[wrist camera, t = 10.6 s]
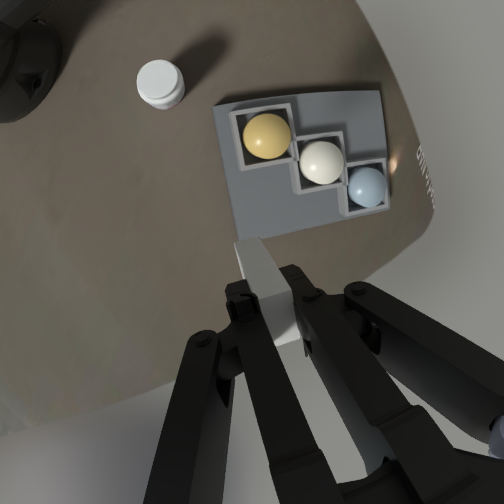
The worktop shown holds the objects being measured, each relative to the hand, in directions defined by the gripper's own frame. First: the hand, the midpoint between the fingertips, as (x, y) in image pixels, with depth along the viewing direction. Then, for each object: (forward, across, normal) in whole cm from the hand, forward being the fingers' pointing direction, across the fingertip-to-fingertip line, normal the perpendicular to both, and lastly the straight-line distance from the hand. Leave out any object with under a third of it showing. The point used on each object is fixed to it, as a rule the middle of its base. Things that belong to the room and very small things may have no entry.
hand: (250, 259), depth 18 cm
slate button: (+18, +18, -3) cm, 25 cm away
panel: (+21, +12, +2) cm, 24 cm away
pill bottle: (+21, -3, +14) cm, 26 cm away
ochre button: (+18, +6, +6) cm, 20 cm away
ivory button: (+18, +12, +2) cm, 22 cm away
